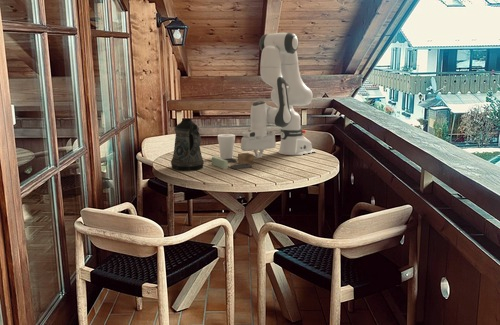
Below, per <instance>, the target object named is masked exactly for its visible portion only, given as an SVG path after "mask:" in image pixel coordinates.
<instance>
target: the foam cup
mask: <svg viewBox="0 0 500 325" xmlns="http://www.w3.org/2000/svg"><path fill="white" fill-rule="evenodd" d="M235 141H236V135H235V134H232V133H221V134H218V135H217V142H218V147H219V156H220V158H221V159H229V158H233V156H234V146H235Z"/></svg>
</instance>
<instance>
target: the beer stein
mask: <svg viewBox="0 0 500 325" xmlns="http://www.w3.org/2000/svg"><path fill="white" fill-rule="evenodd" d="M173 130H174V133H175V140H174V147H173V153H172V158H171V161H170V164H171V167H172V170H173V169H174V171H176V172H177V171H179V172H193V171H194V172H195V171H199V170H201V169H203V168H204V163H205V161H204V159H203V156H202V152H201V151H202V150H201V141H202V136H201V134H200V131H199V130H200V128H199V126H198V125H197V124H196V123H195V122H194V121H193V120H192V118H183V119H181V121H180V122H179V123H177V124H176V125H175V127H174V128H173Z"/></svg>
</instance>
